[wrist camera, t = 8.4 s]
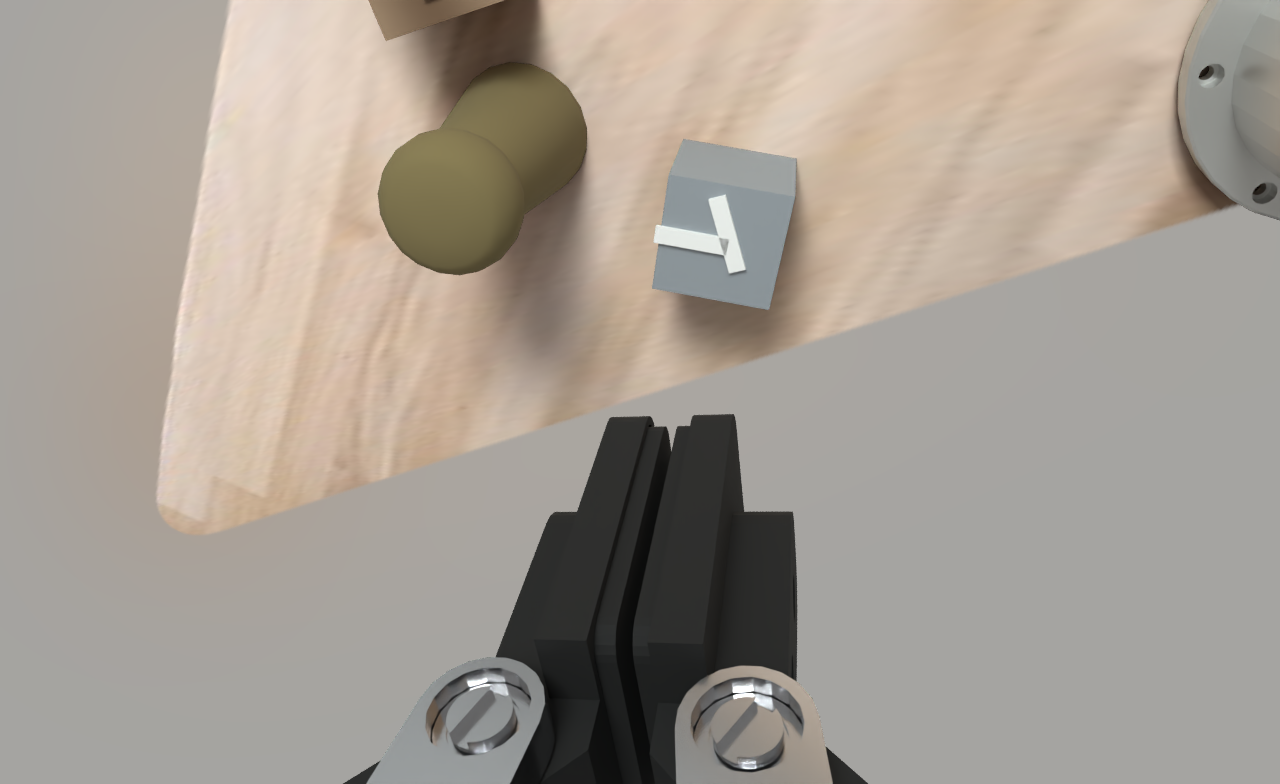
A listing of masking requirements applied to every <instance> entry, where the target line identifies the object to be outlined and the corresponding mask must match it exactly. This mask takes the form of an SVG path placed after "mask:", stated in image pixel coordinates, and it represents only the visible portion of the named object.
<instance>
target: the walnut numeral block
mask: <svg viewBox="0 0 1280 784" xmlns="http://www.w3.org/2000/svg"><path fill="white" fill-rule="evenodd" d="M501 1H504V0H369V3H370V5H371V7H372V10H373V12H374V14H375V17H376V19H377V21H378V24H379V26H380V28H381V31H382V33H383V35H384V38H385V40H386V41H387V40H390V39H393V38H396V37H399V36H402V35H405V34H408V33H411V32H413V31H416V30H419V29H422V28H425V27H428V26H431V25H434V24H437V23H440V22H443V21H446V20H448V19H451V18H454V17H457V16H460V15H463V14H466V13H469V12H472V11H475V10H478V9H481V8H483V7H486V6H489V5H492V4H495V3H498V2H501Z"/></svg>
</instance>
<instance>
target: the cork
mask: <svg viewBox="0 0 1280 784" xmlns="http://www.w3.org/2000/svg"><path fill="white" fill-rule="evenodd" d="M586 143H587V127H586V124H585V120H584V117H583V114H582V110H581V107H580V105H579V104H578V102H577V101H576V99H575V98H574V96H573V94H572V93H571V91H570V90H569V88H568V87H567V86H565V85H564V84H563V83H562V82H561V81H560V80H558V79H557V78H556V77H555V76H554V75H553V74H552V73H550V72H547V71H545V70H543V69H540V68H538V67H536V66H534V65H531V64H522V63H511V62H509V63H505V64H501V65H498V66H494V67H490V68H488V69H487V70H486V71H484V72H483V73H481V74H480V75H479V76H477V77H476V78H474V79H473V80H472V82H471V83H470V85H469V86H468V88H467V89H466V91H465V92H464V94H463V95H462V97H461V98H460V99H459V101H458V102H457V104H456V105H455V107H454V108H453V110H452V111H451V113H450V114H449V116H448V117H447V119H446V120H445V121H444V123H443V124H442V126H441V127H440V129H437V130H433V131H429V132H425V133H421V134H418V135H417V136H415V137H414V138H413V139H411V140H410V141H408V142H407V143H405V144H404V145H403V146H401V147H400V148H398V149H397V150H396V151H395V152H394V154H393V155H392V157H391V159H390V160H389V162H388V163H387V165H386V166H385V168H384V171H383V173H382V177H381V181H380V186H379V190H378V199H379V208H380V215H381V217H382V220H383V222H384V224H385V227H386V229H387V231H388V234H389V236H390V237H391V239H392V240H393V241H394V243H395V244H396V245H397V246H398V248H399V249H400V250H401V252H403V253H404V254H405V255H406V256H408V257H409V258H410V259H412V260H413V261H414V262H416V263H417V264H419V265H421V266H424V267H426V268H428V269H431V270H433V271H436V272H438V273H445V274H453V275H463V274H468V273H473V272H478V271H480V270H483V269H485V268H486V267H488V266H490V265H491V264H493V263H495V262H496V261H498V260H500V259H501V258H502V257H503V256H504V255H505V253H506V252H507V251H508V249H509V248H510V247H511V246H512V244H513V243H514V242H515V240H516V239H517V237H518V234H519V231H520V228H521V225H522V222H523V219H524V214H526V213H527V212H529V211H530V210H531V209H533V208H534V207H536V206H537V205H538V204H540V203H541V202H542V201H544V200H545V199H547V198H548V197H549V196H551V195H552V194H554V193H555V192H556V191H558V190H559V189H561V188H562V187H563V186H565V185H566V184H567V183H568V182H569V181H570V180H571V179H572V177H573V176H574V175H575V174H576V172H577V171H578V170H579V169H580V166H581V163H582V160H583V158H584V155H585V152H586Z"/></svg>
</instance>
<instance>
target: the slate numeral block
mask: <svg viewBox="0 0 1280 784" xmlns="http://www.w3.org/2000/svg"><path fill="white" fill-rule="evenodd" d="M795 189H796V158H790V157H784V156H779V155H773V154H767V153H761V152H756V151H750V150H744V149H738V148H733V147H727V146H721V145H715V144H710V143H704V142H698V141H692V140H687V139H683V142H682V144H681V146H680V149H679V151H678V154H677V156H676V159H675V161H674V163H673V166H672V168H671V171H670V173H669V177H668V184H667V191H666V198H665V205H664V211H663V218H662V225H656V229H655V236H654V243H659V245H658V252H657V259H656V265H655V272H654V279H653V286H652V288H653V289H658V290H663V291H669V292H674V293H680V294H685V295H690V296H696V297H701V298H706V299H712V300H717V301H723V302H728V303H733V304H739V305H744V306H749V307H755V308H760V309H766V310H769V308H770V304H771V299H772V295H773V291H774V286H775V282H776V278H777V274H778V269H779V265H780V261H781V256H782V252H783V248H784V243H785V239H786V235H787V230H788V226H789V222H790V217H791V213H792V209H793V204H794V200H795Z"/></svg>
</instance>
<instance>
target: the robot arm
mask: <svg viewBox="0 0 1280 784" xmlns="http://www.w3.org/2000/svg"><path fill="white" fill-rule="evenodd" d="M1206 66H1209V72H1208V73H1207V74H1206V75H1205V76H1204V77H1201V78H1199V75H1200V72H1201V71H1202V70H1203V69H1204V68H1205V67H1206ZM1178 115H1179V120H1180V125H1181V130H1182V135H1183V139H1184V142H1185V144H1186V146H1187V148H1188V150H1189V152H1190V154H1191V156H1192V158H1193V160H1194V162H1195V164H1196V165H1197V166H1198V168H1199V169H1200V170H1201V171H1202V172H1203V174H1204V175H1205V176H1206V177H1207V178H1208V180H1209V181H1210V182H1211V183H1212V184H1213V185H1214V186H1215V187H1217V188H1218V189H1219V190H1221V191H1222V192H1223V193H1224V194H1225V195H1226V196H1228V197H1229V198H1230V199H1231V200H1233V201H1235V202H1236V203H1238V204H1240V205H1241V206H1243V207H1245V208H1246V209H1248V210H1250V211H1252V212H1255V213H1258V214H1261V215H1264V216H1268V217H1271V218H1274V219H1277V220H1280V0H1209V1H1208V2H1207V4H1206V5H1205V7H1204V9H1203V10H1202V12H1201V14H1200V15H1199V18H1198V20H1197V22H1196V25H1195V27H1194V30H1193V32H1192V34H1191V37H1190V39H1189V42H1188V44H1187V46H1186V49H1185V53H1184V58H1183V62H1182V67H1181V71H1180V76H1179V80H1178ZM1260 184H1262V185H1261V187H1260V188H1259V189H1258V190H1256V191H1254V189H1255V188H1256V187H1258V186H1259V185H1260ZM796 669H797V576H796V552H795V533H794V518H793V512H744V506H743V496H742V484H741V473H740V462H739V451H738V440H737V429H736V421H735V416H734V414H725V415H694V416H693V417H692V420H691V425H690V426H678V427H677V429H676V434H675V438H674V443H673V447H672V452H671V447H670V440H669V433H668V430H667V427H654V422H653V420H652V418H651V417H650V416H646V417H645V416H642V417H611V418H610V419H609V421H608V423H607V426H606V429H605V432H604V435H603V438H602V441H601V443H600V446H599V449H598V452H597V455H596V458H595V461H594V464H593V467H592V470H591V473H590V476H589V479H588V482H587V485H586V487H585V491H584V493H583V496H582V499H581V502H580V505H579V508H578V511H577V512H555V513H553V514H552V515H551V516H550V518H549V519H548V522H547V523H546V526H545V529H544V531H543V534H542V537H541V539H540V542H539V544H538V547H537V550H536V552H535V555H534V558H533V560H532V563H531V565H530V568H529V571H528V573H527V576H526V578H525V581H524V584H523V586H522V589H521V592H520V594H519V597H518V599H517V602H516V605H515V607H514V610H513V613H512V615H511V618H510V621H509V623H508V626H507V628H506V632H505V634H504V636H503V639H502V642H501V644H500V647H499V649H498V652H497V655H496V657H487V658H482V659H478V660H473V661H468V662H466V663H464V664H462V665H460V666H457V667H455V668H453V669H451V670H449V671H448V672H446V673H445V674H444V675H442V676H441V677H440V678H438V679H437V680H436V681H434V682H433V683H432V684H431V685H430V687H429V688H428V689H427V690H426V691H425V693H424V694H423V695H422V696H421V698H420V699H419V700H418V702H417V704H416V705H415V707H414V709H413V710H412V712H411V713H410V715H409V717H408V718H407V720H406V721H405V723H404V724H403V726H402V728H401V729H400V731H399V732H398V734H397V736H396V737H395V739H394V740H393V742H392V744H391V745H390V747H389V748H388V750H387V751H386V753H385V755H384V756H383V758H382V759H381V761H379V762H378V763H376V764H374V765H373V766H371V767H369V768H368V769H366V770H365V771H363V772H361V773H360V774H358V775H357V776H355V777H353V778H352V779H350V780H348V781H347V782H345V783H343V784H868V783H867V782H865V781H864V780H863V779H862V778H861V777H860V776H859V775H858V774H856V773H855V772H854V771H853V770H852V769H851V768H850V767H848V766H847V765H846V764H845V763H844V762H843V761H841V760H840V759H839V758H838V757H837V756H836V755H835V754H834V753H832V752H831V751H830V750H829V749H828V748H827V747H826V746H825V741H824V737H823V731H822V726H821V721H820V716H819V714H818V711H817V709H816V706H815V704H814V701H813V699H812V697H811V696H810V695H809V694H808V693H807V692H806V690H805V689H804V688H803V687H802V686H801V685H800V684H799V683H798V682H796V677H797V676H796V675H797V674H796V673H797V672H796V671H797V670H796Z"/></svg>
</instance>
